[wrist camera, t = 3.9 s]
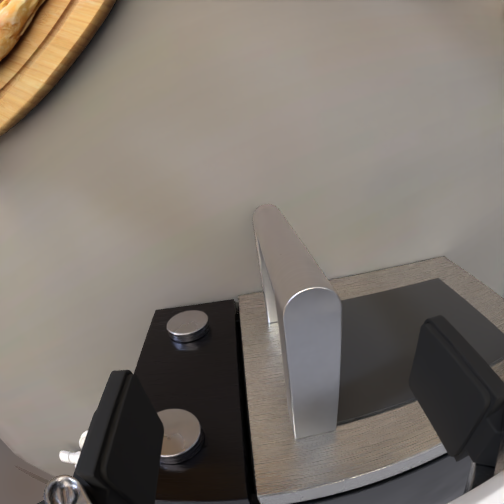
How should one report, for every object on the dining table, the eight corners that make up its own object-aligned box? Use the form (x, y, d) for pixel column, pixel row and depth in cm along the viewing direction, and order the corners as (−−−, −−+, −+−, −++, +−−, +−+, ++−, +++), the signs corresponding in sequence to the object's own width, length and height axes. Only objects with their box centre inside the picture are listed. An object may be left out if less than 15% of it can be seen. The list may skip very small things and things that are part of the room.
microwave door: (221, 202, 23) (210, 367, 7) (447, 176, 23) (609, 238, 7) (241, 311, 26) (261, 508, 10) (442, 270, 27) (562, 373, 10)
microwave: (153, 301, 26) (91, 490, 9) (443, 250, 26) (575, 350, 10) (210, 444, 34) (211, 567, 17) (413, 400, 34) (468, 498, 18)
